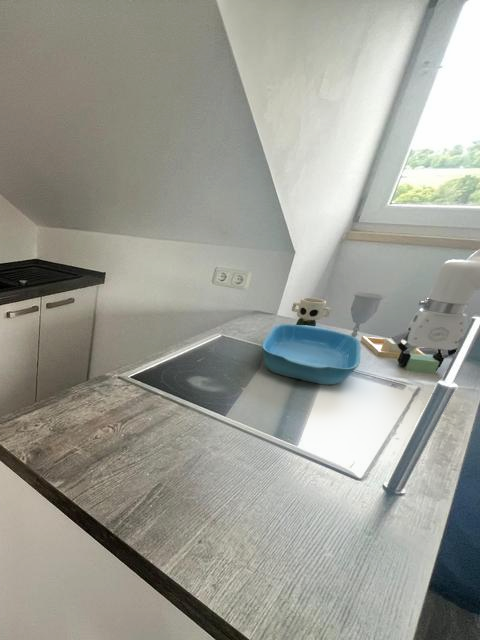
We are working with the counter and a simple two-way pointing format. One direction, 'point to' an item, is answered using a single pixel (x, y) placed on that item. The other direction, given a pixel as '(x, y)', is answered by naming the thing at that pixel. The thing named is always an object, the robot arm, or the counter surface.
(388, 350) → the beige block
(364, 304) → the chalice
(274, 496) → the counter surface
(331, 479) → the counter surface
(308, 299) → the character mug
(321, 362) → the casserole dish
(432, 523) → the counter surface
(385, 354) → the backing tray
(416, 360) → the green block
